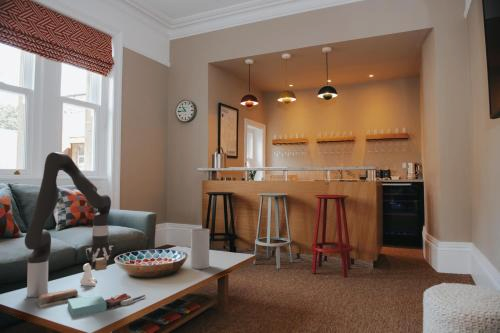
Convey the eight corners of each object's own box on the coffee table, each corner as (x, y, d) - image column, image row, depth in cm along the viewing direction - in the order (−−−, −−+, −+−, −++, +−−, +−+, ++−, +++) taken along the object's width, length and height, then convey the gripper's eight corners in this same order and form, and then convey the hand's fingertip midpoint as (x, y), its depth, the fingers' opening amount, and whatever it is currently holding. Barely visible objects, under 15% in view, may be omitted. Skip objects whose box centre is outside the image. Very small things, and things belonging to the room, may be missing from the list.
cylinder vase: (187, 266, 239) (187, 229, 240) (202, 263, 247) (203, 228, 248) (196, 270, 230) (197, 232, 230) (212, 267, 238) (212, 230, 238)
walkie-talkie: (111, 311, 162) (146, 298, 178) (111, 301, 162) (146, 290, 178) (100, 307, 167) (135, 295, 183) (100, 297, 167) (135, 286, 183)
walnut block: (93, 268, 178) (93, 258, 178) (103, 267, 181) (104, 257, 181) (96, 270, 174) (96, 260, 174) (106, 269, 177) (106, 259, 177)
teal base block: (67, 308, 165) (67, 299, 166) (99, 302, 174) (99, 293, 174) (72, 318, 154) (72, 308, 154) (106, 311, 162) (106, 302, 162)
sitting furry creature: (95, 286, 196) (95, 264, 196) (78, 287, 193) (78, 266, 194) (97, 281, 205) (97, 260, 205) (81, 282, 202) (81, 261, 203)
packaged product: (41, 298, 164) (36, 293, 171) (41, 309, 164) (36, 303, 171) (82, 290, 176) (75, 285, 183) (82, 300, 176) (75, 295, 183)
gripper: (112, 231, 185) (112, 264, 185) (83, 234, 177) (83, 268, 176) (117, 233, 179) (116, 267, 179) (87, 236, 171) (86, 271, 170)
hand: (99, 267), depth 178 cm, fingers closed on walnut block, 5 cm apart
